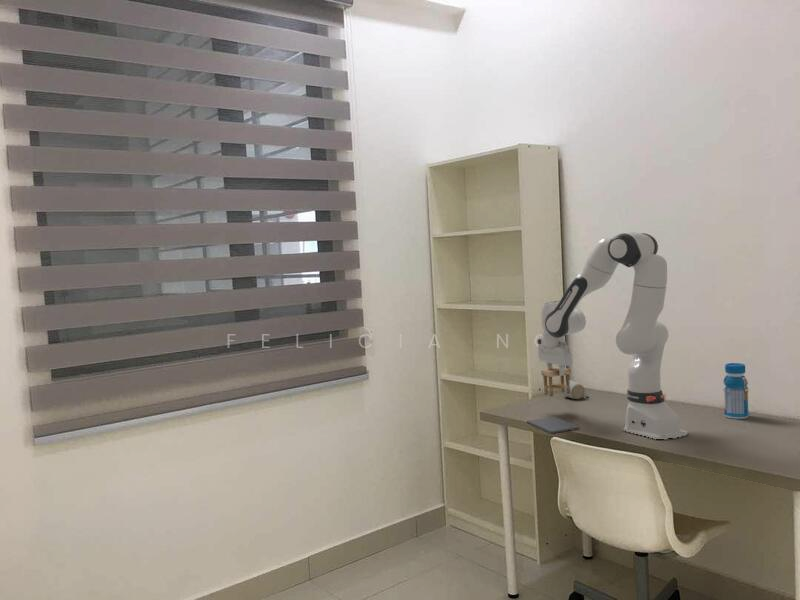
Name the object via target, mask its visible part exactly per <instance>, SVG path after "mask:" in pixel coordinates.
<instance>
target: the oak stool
mask: <svg viewBox="0 0 800 600" xmlns="http://www.w3.org/2000/svg"><path fill="white" fill-rule="evenodd" d="M559 369H560V368H559V367H556V368H553V369H548V368H547V369H541V371H540V373H541V376H543V379H542V380H543V389H544V394H543V395H545V396H547V395H549V397H553V396H554V390H559V389H561V393H562V392H565V388H566V390H567V394H570V381H569V380H570V375H571V374H572V372H571V368H567V367H565V369H564V375H563V376H560V383H557V384H553V377H559V375H558V371H559ZM564 382H566V385H564Z"/></svg>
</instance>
